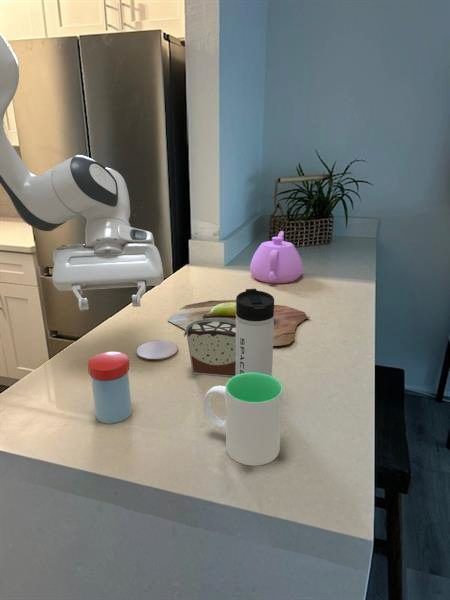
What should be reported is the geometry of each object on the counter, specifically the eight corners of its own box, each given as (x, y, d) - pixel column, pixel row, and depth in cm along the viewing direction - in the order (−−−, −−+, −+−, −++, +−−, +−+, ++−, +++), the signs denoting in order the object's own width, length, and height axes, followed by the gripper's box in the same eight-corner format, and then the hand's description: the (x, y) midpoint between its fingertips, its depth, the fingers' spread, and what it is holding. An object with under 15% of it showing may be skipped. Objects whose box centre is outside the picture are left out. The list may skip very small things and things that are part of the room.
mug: (193, 450, 64) (190, 389, 60) (215, 419, 71) (214, 363, 67) (270, 471, 60) (273, 407, 56) (285, 437, 67) (288, 378, 63)
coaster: (136, 362, 90) (136, 360, 90) (136, 344, 98) (136, 342, 98) (179, 358, 91) (179, 356, 91) (176, 340, 100) (176, 338, 99)
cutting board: (315, 310, 117) (316, 297, 116) (293, 353, 93) (293, 337, 92) (197, 295, 129) (197, 283, 128) (151, 330, 105) (150, 316, 104)
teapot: (300, 288, 135) (302, 245, 130) (244, 285, 138) (245, 243, 133) (303, 267, 158) (306, 230, 153) (255, 265, 161) (256, 228, 156)
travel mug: (265, 389, 80) (268, 287, 73) (275, 410, 73) (279, 300, 67) (232, 393, 79) (232, 289, 72) (239, 414, 72) (240, 302, 66)
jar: (93, 425, 70) (87, 374, 66) (97, 404, 75) (91, 356, 72) (131, 421, 71) (126, 370, 67) (132, 401, 76) (128, 353, 73)
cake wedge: (250, 363, 89) (251, 318, 86) (246, 378, 83) (247, 331, 80) (192, 358, 91) (191, 315, 88) (185, 373, 86) (183, 326, 82)
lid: (86, 382, 67) (85, 372, 66) (91, 362, 73) (90, 353, 72) (128, 378, 68) (127, 368, 67) (129, 359, 74) (129, 350, 73)
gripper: (49, 236, 80) (46, 303, 74) (160, 232, 83) (165, 296, 78) (57, 254, 86) (54, 318, 80) (160, 249, 89) (165, 310, 83)
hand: (110, 307), depth 79 cm, fingers open, 8 cm apart
